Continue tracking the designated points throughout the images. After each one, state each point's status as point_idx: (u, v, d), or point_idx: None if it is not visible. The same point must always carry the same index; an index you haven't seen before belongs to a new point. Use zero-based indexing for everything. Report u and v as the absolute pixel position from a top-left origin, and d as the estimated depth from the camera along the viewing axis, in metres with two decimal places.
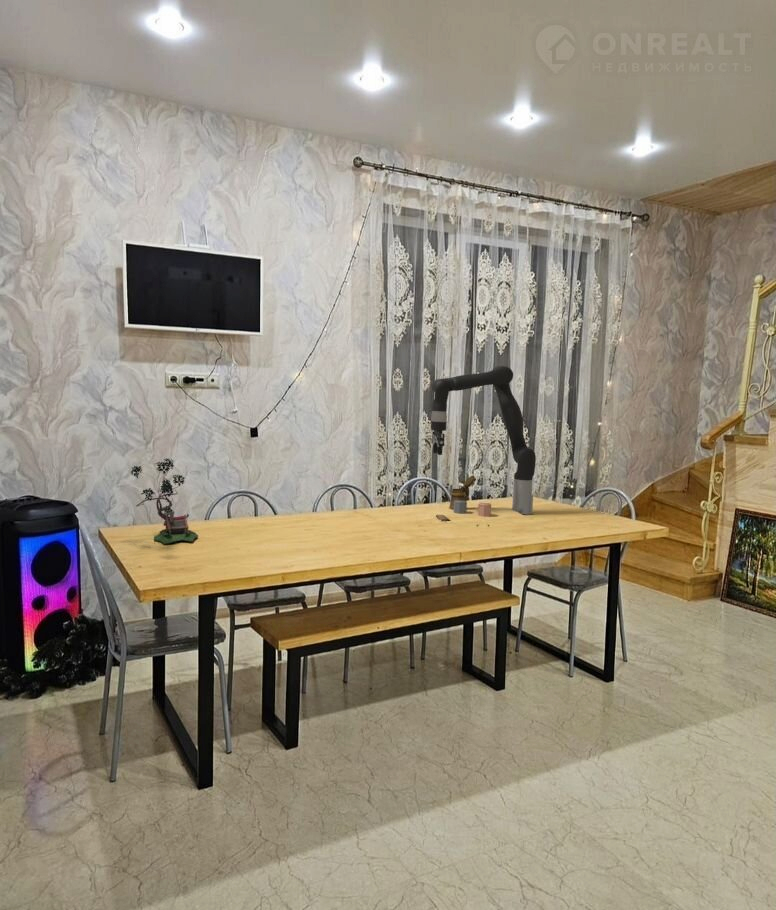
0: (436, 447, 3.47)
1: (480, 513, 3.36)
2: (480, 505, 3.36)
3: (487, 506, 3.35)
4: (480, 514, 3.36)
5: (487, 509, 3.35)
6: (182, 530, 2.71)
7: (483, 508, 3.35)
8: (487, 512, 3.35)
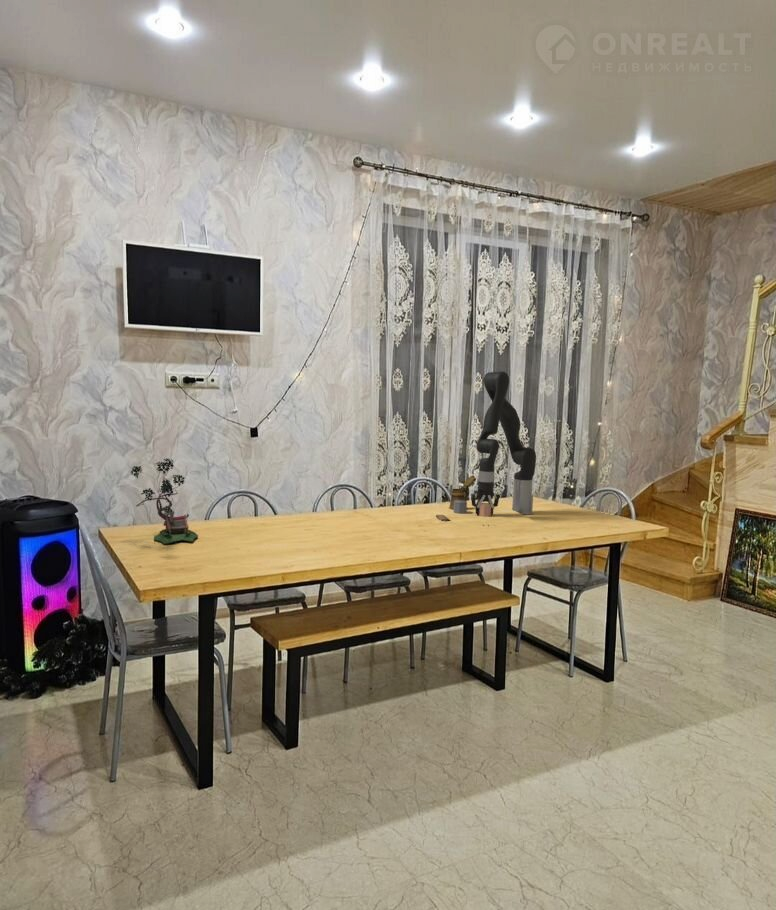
0: None
1: (480, 513, 3.36)
2: (480, 505, 3.36)
3: (487, 506, 3.35)
4: (480, 514, 3.36)
5: (487, 509, 3.35)
6: (182, 530, 2.71)
7: (483, 508, 3.35)
8: (487, 512, 3.35)
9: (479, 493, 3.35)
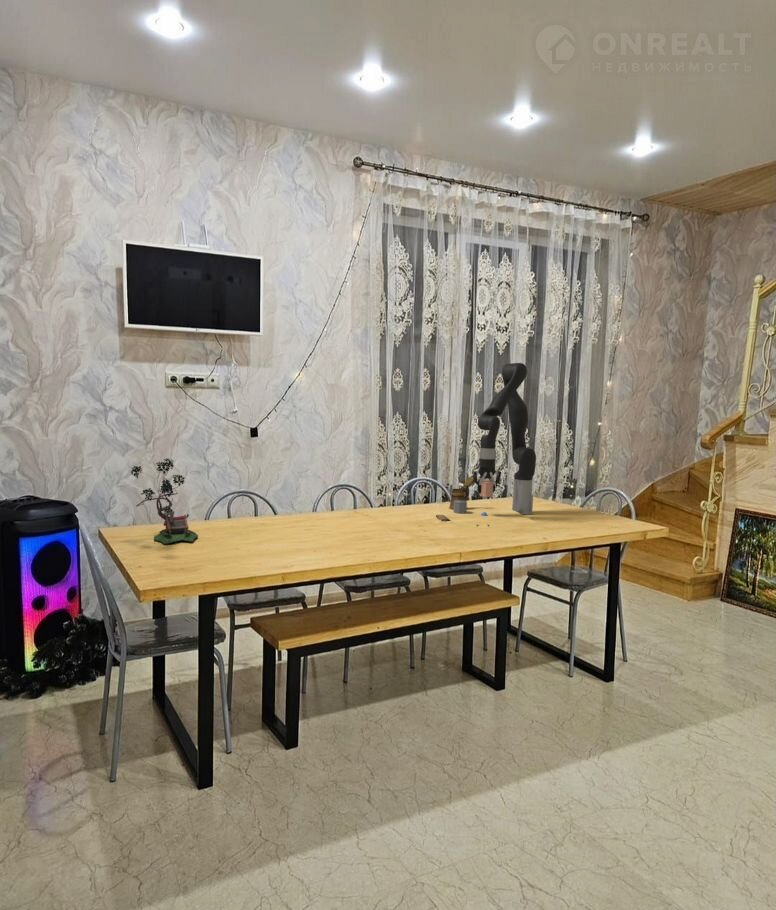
0: None
1: (482, 490, 3.35)
2: (482, 482, 3.34)
3: (489, 483, 3.33)
4: (482, 491, 3.35)
5: (489, 486, 3.34)
6: (182, 530, 2.71)
7: (485, 485, 3.33)
8: (489, 489, 3.34)
9: (481, 470, 3.34)
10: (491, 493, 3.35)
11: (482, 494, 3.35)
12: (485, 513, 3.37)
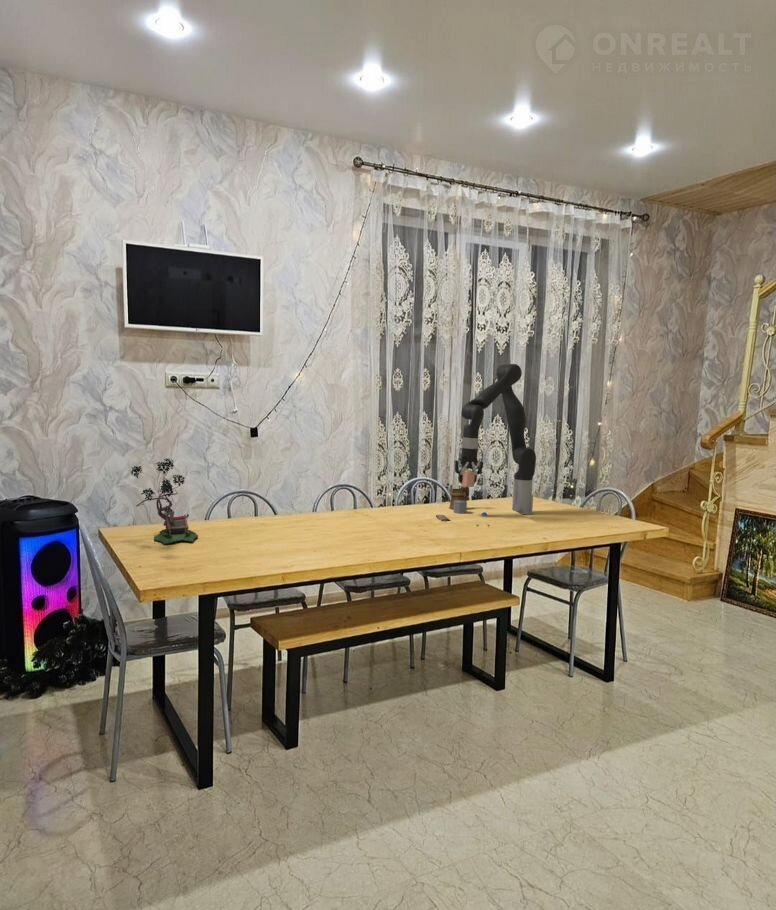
0: None
1: (463, 480, 3.31)
2: (463, 472, 3.31)
3: (470, 473, 3.30)
4: (463, 481, 3.31)
5: (470, 476, 3.30)
6: (182, 530, 2.71)
7: (466, 475, 3.30)
8: (470, 479, 3.30)
9: (462, 460, 3.31)
10: (472, 483, 3.32)
11: (463, 484, 3.31)
12: (485, 513, 3.37)
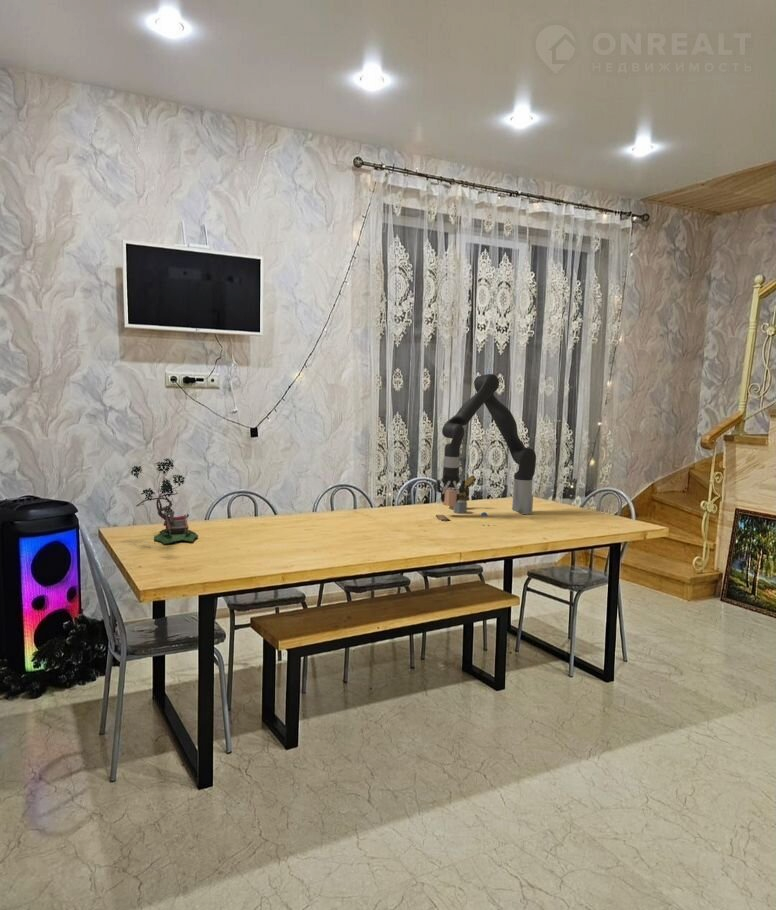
0: None
1: (445, 499, 3.30)
2: (445, 491, 3.30)
3: (452, 492, 3.29)
4: (445, 500, 3.30)
5: (452, 495, 3.29)
6: (182, 530, 2.71)
7: (448, 494, 3.29)
8: (452, 498, 3.29)
9: (444, 479, 3.29)
10: (454, 502, 3.30)
11: (445, 503, 3.30)
12: (485, 513, 3.37)
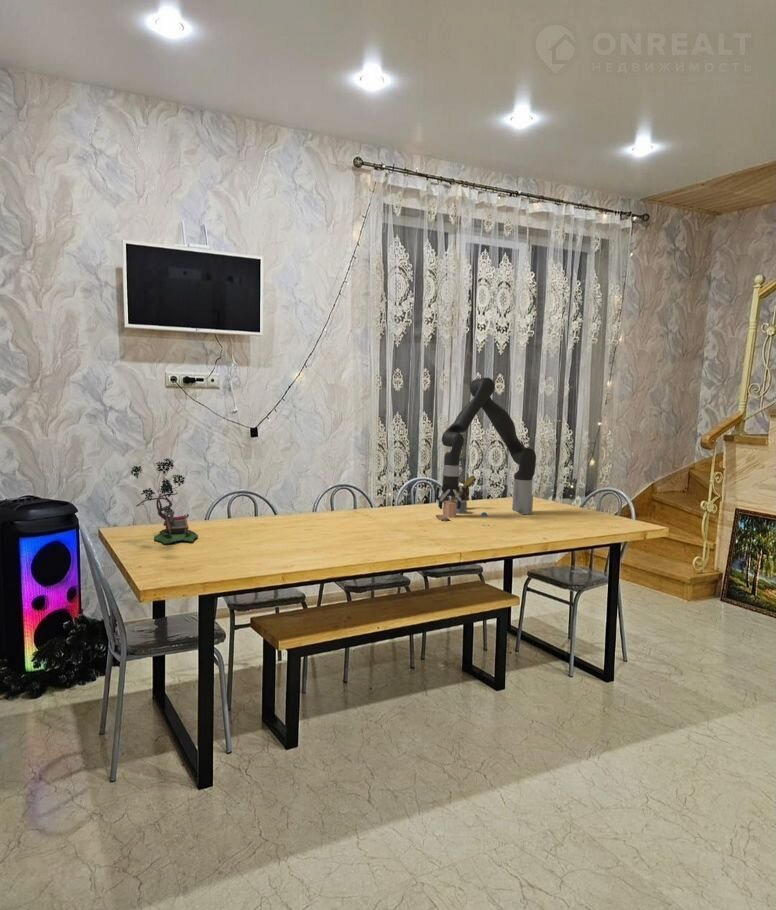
0: None
1: (445, 511, 3.30)
2: (445, 503, 3.30)
3: (452, 504, 3.29)
4: (445, 512, 3.30)
5: (452, 507, 3.29)
6: (182, 530, 2.71)
7: (448, 506, 3.29)
8: (452, 510, 3.30)
9: (444, 487, 3.29)
10: (454, 514, 3.31)
11: (445, 515, 3.30)
12: (485, 513, 3.37)
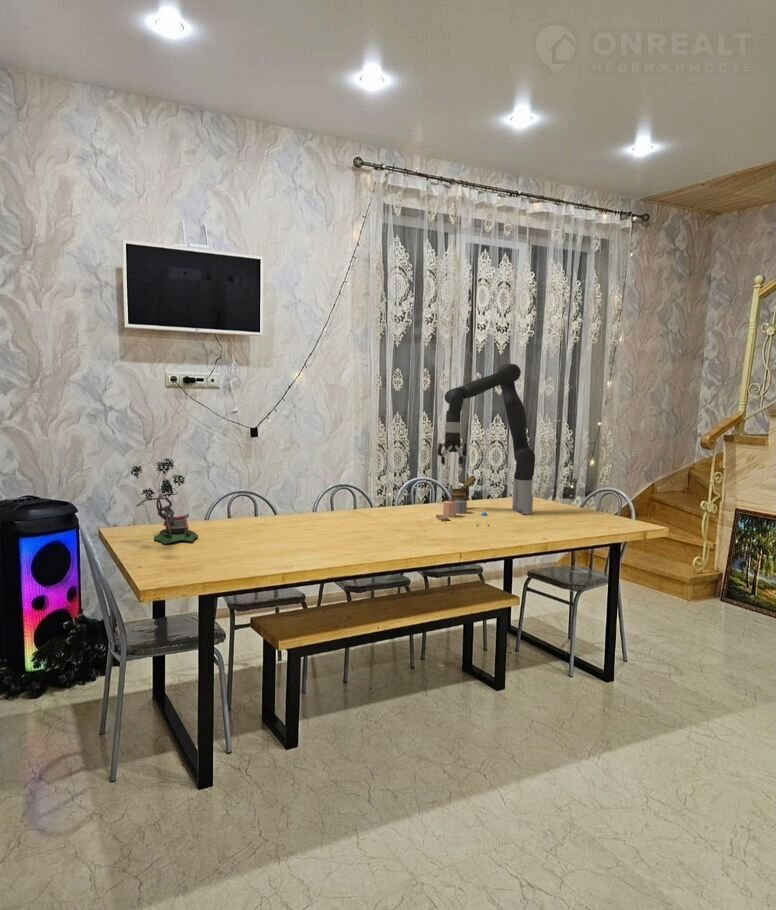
0: None
1: (445, 511, 3.30)
2: (445, 503, 3.30)
3: (452, 504, 3.29)
4: (445, 512, 3.30)
5: (452, 507, 3.29)
6: (182, 530, 2.71)
7: (448, 506, 3.29)
8: (452, 510, 3.30)
9: (446, 443, 3.41)
10: (454, 514, 3.31)
11: (445, 515, 3.30)
12: (485, 513, 3.37)
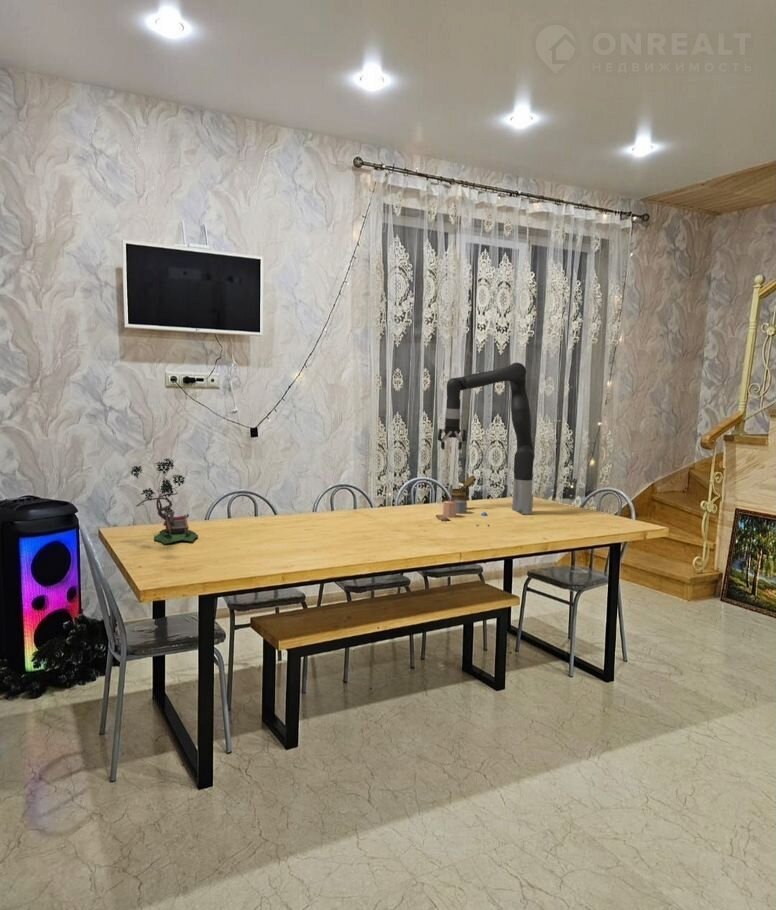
0: None
1: (445, 511, 3.30)
2: (445, 503, 3.30)
3: (452, 504, 3.29)
4: (445, 512, 3.30)
5: (452, 507, 3.29)
6: (182, 530, 2.71)
7: (448, 506, 3.29)
8: (452, 510, 3.30)
9: (446, 429, 3.57)
10: (454, 514, 3.31)
11: (445, 515, 3.30)
12: (485, 513, 3.37)
